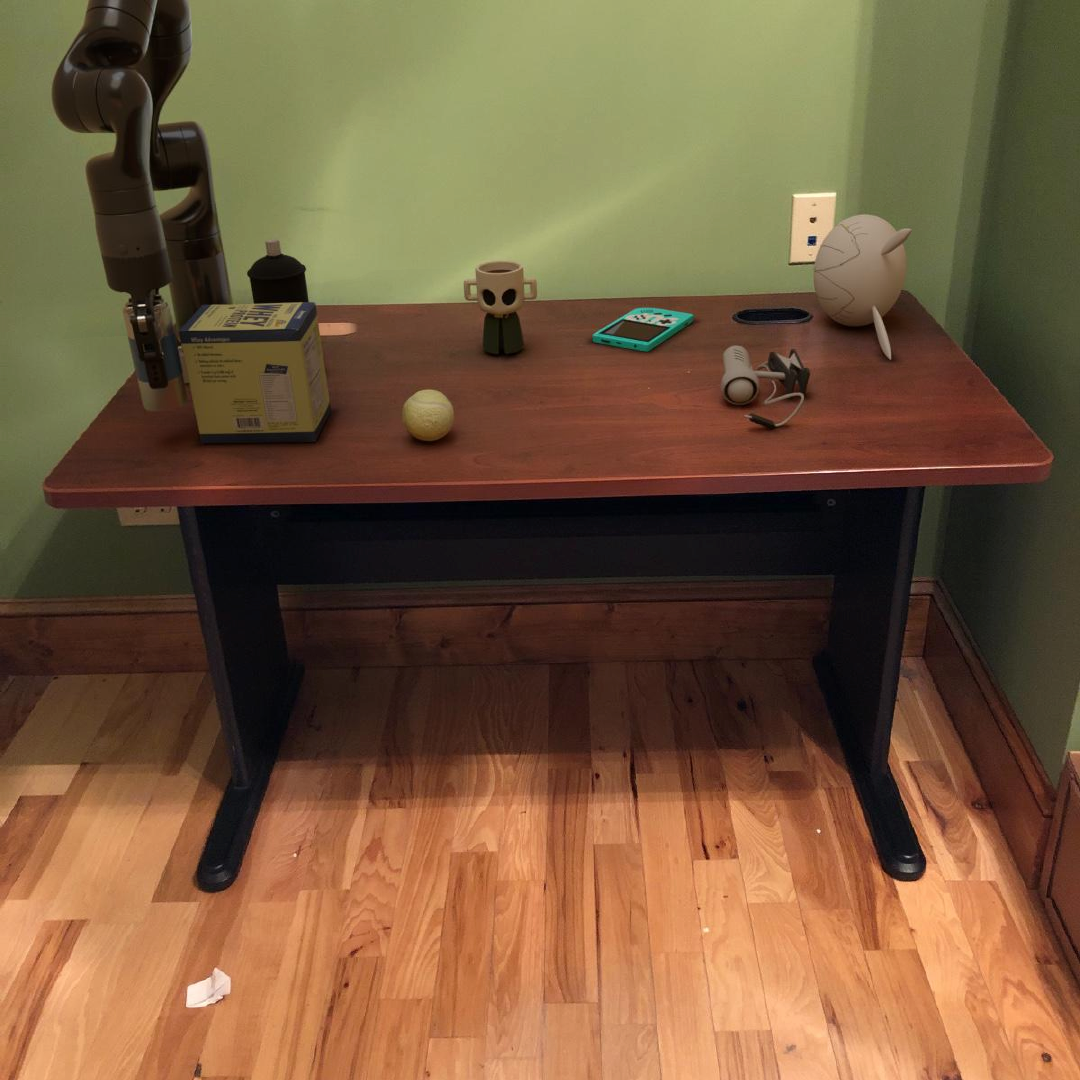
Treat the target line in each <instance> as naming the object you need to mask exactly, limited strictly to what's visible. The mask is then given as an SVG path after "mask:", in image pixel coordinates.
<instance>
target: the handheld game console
mask: <svg viewBox="0 0 1080 1080" xmlns="http://www.w3.org/2000/svg"><path fill="white" fill-rule="evenodd" d="M693 322H694V314H693V313H690V312H689V313H688V312H682V311H676V310H669V309H664V308H657V307H637V308H634V309H632V310H631V311H629V312H628V313H626V314H624V315H623V316H621V317H620V318H617V319H616V320H614V321H613V322H611V323H609V324H608V325H606V326H604V327H603V328H601V329H599V330H598V331H596V332H595V333H593V334H592V342H593V343H596V344H601V345H607V346H611V347H618V348H625V349H629V350H634V351H640V352H645V353H647V352H650V351H652V350H654V348H656V347H657V346H659V345H661V344H662V343H663V342H665V341H666V340H669V338H671V337H672V336H674V335H675V334H677V333H678V332H680V331H681V330H683V329H684V328H685V327H688V325H690V324H692V323H693Z"/></svg>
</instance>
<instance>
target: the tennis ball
mask: <svg viewBox="0 0 1080 1080" xmlns="http://www.w3.org/2000/svg"><path fill="white" fill-rule="evenodd" d="M401 412H402V413H401V414H402V422H401V423H402V424H403V425H404V428H405V429H406V431H407V432H408V433H410V434H411V435H412V437H413V438H415V439H417V440H420V441H423V442H434V441H439V440H440V439H442V438H443V437H445V436H446V435H447V434H448V433H449V432H450V430H451V429H452V427H453V424H454V421H455V420H454V419H455V411H454V406H453V404H452V403H451V401H450V399H449V398H448V397H447V396H446V395H445V394H443V392H442V391H439V390H436V389H421V390H418V391H417V392H415V393H413V394H412V395H411V396H410V397H409V398H407V400H406V401H405V403H404V404H403V408H402V411H401Z"/></svg>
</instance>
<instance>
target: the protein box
mask: <svg viewBox="0 0 1080 1080" xmlns="http://www.w3.org/2000/svg"><path fill="white" fill-rule="evenodd" d="M178 332H179V335H180V340H181V345H180V346H182V350H183V355H184V360H185V365H186V370H187V375H188V380H189V383H188V385H189V387H190V388H189V389H190V394H191V398H192V404H193V409H194V414H195V418H196V423H197V429H198V433H199V439H200V444H201V445H208V444H210V445H211V444H212V445H215V444H217V445H219V444H220V445H221V444H276V443H277V444H281V443H282V444H283V443H315V442H316V441H317V440H318V437H319V435H320V434H321V431H322V429H323V428H324V425H325V423H326V422H327V420H328V417H329V415H330V413H331V411H332V405H331V401H330V394H329V387H328V382H327V381H328V380H327V374H326V368H325V360H324V353H323V346H322V339H321V333H320V326H319V317H318V311H317V305H316V302H314V301H309V302H299V303H269V304H254V303H242V304H241V303H240V304H239V303H237V304H235V303H233V305H202V306H201V307H200V308H199V310H198V311H197V312H196V313H195V314H194V315H193V316H192V317H191V318H190V319H189V320H188V321H187V323H186V324H185V325H184V326H183V327H182V328H181V329H180V330H179V331H177V333H178Z"/></svg>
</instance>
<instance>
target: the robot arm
mask: <svg viewBox="0 0 1080 1080" xmlns="http://www.w3.org/2000/svg"><path fill="white" fill-rule="evenodd" d="M191 11H192V10H191V6H190V2H189V0H88V2H87V6H86V11H85V15H84V20H83V25H82V27H81V29H80V30H79V31H78V33H77V34H76V35H75V37H74V39H73V40H72V42H71V44H70V46H69V48H68V49H67V51H66V53H65V54H64V56H63V58H62V60H61V61H60V62H59V64H58V67H57V68H56V71H55V74H54V76H53V78H52V79H53V80H52V83H51V93H50V97H51V104H52V109H53V112H54V113H55V116H56V117H57V119H58V121H59V122H60V123H61V124H62V126H64V127H65V128H66V129H68V130H70V131H72V132H75V133H79V134H115V145H114V146H115V147H114V149H113V151H110V152H105V153H101V154H98V155H95V156H92V157H91V158H89V159H88V160H87V161H86V164H85V168H84V169H85V170H84V171H85V177H86V184H87V187H88V192H89V196H90V200H91V204H92V209H93V214H94V226H95V232H96V233H95V234H96V239H97V242H98V246H99V251H100V256H101V260H102V264H103V269H104V274H105V278H106V282H107V286H108V288H109V289H111V290H112V291H114V292H117V293H126V294H128V295H130V297H129V298H128V301H129V302H132V304H128V305H127V310H128V316H129V317H130V318H131V319H130V323H131V324H132V328H133V334H134V339H135V340H136V345H137V349H138V353H139V354H138V356H139V359H140V361H144V363H145V367H146V372H147V377H148V381H149V386H150V388H152V389H159V388H166V387H167V386H168V379H167V374H166V369H165V364H164V360H163V356H164V352H163V351H162V344H161V340H163V339H164V331H163V327H162V322H161V314H162V307H161V301H158V302H154V300H156V299H162V298H163V295H162V294H160V289H162V288H164V287H166V286H168V290H169V294H170V295H169V296H170V299H171V305H172V309H173V315H174V320H175V325H176V331H177V335H178V336H177V339H178V343H179V346H181V340H180V335H179V332H178V331H179V330H180V329H181V328H182V327H183V326H184V325H185V324H186V323H187V321H188V320H189V319H190V318H191V317H192V316H193V315H194V314H195V313H196V312H197V311H198V310H199V308H200V307H201V306H202V305H234V300H233V299H234V298H233V295H232V293H233V292H232V288H231V283H230V277H229V270H228V265H227V258H226V253H225V248H224V243H223V235H222V232H221V231H222V230H221V225H220V220H219V219H220V218H219V212H218V211H219V210H218V205H217V200H216V199H217V198H216V193H215V186H214V185H215V184H214V175H213V167H212V166H213V165H212V158H211V151H210V146H209V142H208V137H207V135H206V132H205V130H204V129H203V127H202V126H201V125H200V124H199V123H198V122H197V121H193V120H187V121H176V122H166V123H159V122H160V117H161V114H162V110H163V108H164V105H165V103H166V102H167V100H168V99H169V97H170V95H171V94H172V92H173V91H174V89H175V87H176V86H177V85H178V83H179V82H180V80H181V78H182V77H183V75H184V73H185V72H186V70H187V68H188V67H189V64H190V61H191V59H192V56H193V49H194V46H193V44H194V42H193V41H194V40H193V27H192V26H193V25H192V12H191ZM187 188H189V191H188V193H187V195H186V196H185V197H184V198H183V199H181V201H180V202H178V203H177V204H176V205H174V206H172V207H171V208H169V209H167V210H165V211H163V212H162V213H159V210H158V206H157V204H156V197H155V192H165V191H173V190H180V189H187ZM154 306H157V308H156V310H155V311H160V314H159V316H158V319H157V326H158V331H157V333H156V328H155V321H156V320H155V315H154V308H153V307H154ZM131 308H133V311H132V309H131ZM130 314H134V315H135V316H130ZM144 344H154V347H155V350H147V351H146V349H145V345H144Z"/></svg>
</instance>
